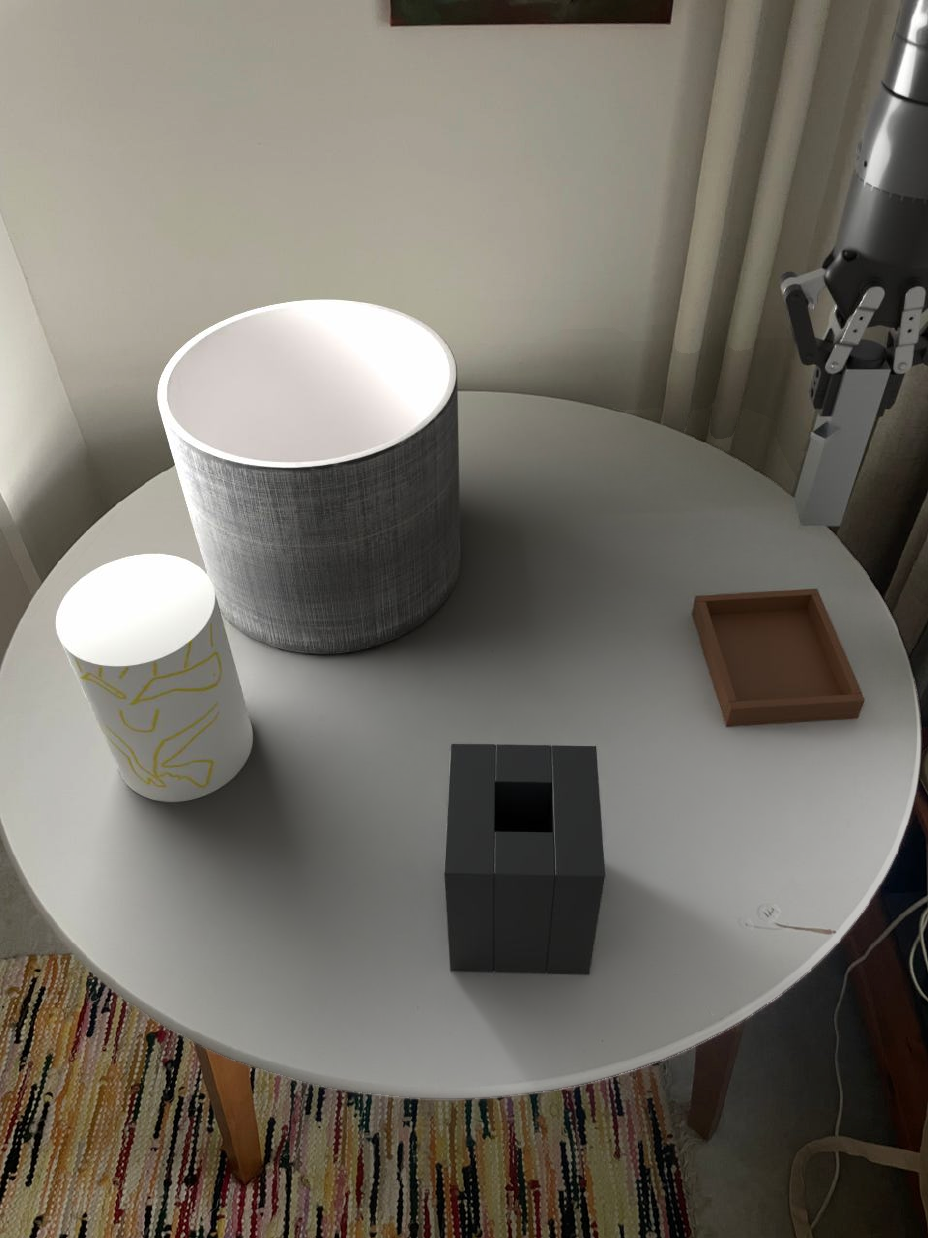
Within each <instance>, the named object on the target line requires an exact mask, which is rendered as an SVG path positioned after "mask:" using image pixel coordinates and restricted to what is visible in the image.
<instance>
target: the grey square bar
mask: <svg viewBox="0 0 928 1238" xmlns="http://www.w3.org/2000/svg"><path fill="white" fill-rule="evenodd" d="M886 356H887V351H886V349H885V346H884V345H882V344H881V343H879V342H878V341H874V340H871V339H865V338H861V340H860V342H859V344H858V345H857V346H854V347H853V348H852V350H851V352H850V355H849V357H848V359H847V361H846V363H845V365H844V367H843V368H842V370H841V371H842V374H843V375H842V379H841V382H840V386H839V389H838V393H837V396H836V399H835V403H834V406H833V410H832V413H831V416H830V417H822V416H819V413H818V412H817V415H816V419H815V422H814V426H813V430H812V431H811V432H810V435H809V438H810V439H809V440H810V441H809V444H808V447H807V451H806V455H805V458H804V463H803V466H802V469H801V473H800V477H799V479H798V484H797V488H796V491H795V494H794V497H793V498H794V499H793V504H794V508H795V511H796V515H797V517H798V521H799V524H800V527H840V526H841V524H842V521H843V517H844V514H845V511H846V509H847V506H848V503H849V500H850V496H851V493H852V490H853V487H854V484H855V481H856V479H857V478H856V477H857V475H858V472H859V468H860V466H861V462H862V459H863V456H864V454H865V450H866V448H867V444H868V441H869V438H870V435H871V433H872V429H873V426H874V422H875V420H876V418H877V417H876V414H877V411H878V408H879V405H880V402H881V399H882V396H883V393H884V389H885V386H886V383H887V380H888V377H889V374H890V371H891V369H890V367H889V364H888V362H887V360H886Z"/></svg>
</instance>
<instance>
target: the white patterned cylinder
mask: <svg viewBox="0 0 928 1238" xmlns="http://www.w3.org/2000/svg"><path fill="white" fill-rule="evenodd" d="M55 630H56V634H57V638H58V639H59V641H60V643H61V647H62V648H63V651H64V653H65V654H66V657H67V659H68V661H69V664H70V666H71V669H72V670H73V672H74V674H75V678H76V679H77V681H78V684H79V686H80V688H81V690H82V692H83V694H84V697H85V699H86V702H87V703H88V706H89V708H90V710H91V713H92V715H93V717H94V719H95V721H96V725H97V726H98V728H99V730H100V733H101V734H102V735H101V736H102V737H103V739H104V741H105V743H106V747H107V748H108V750H109V753H110V755H111V757H112V759H113V762H114V763H115V765H116V768H117V770H118V772H119V774H120V777H121V778H122V780H123V781H124V783H125V784H126V785H127V786H128V788H130V789H131V790H132V791H134V792H135V793H137V794H138V795H140V796H142V797H144V798H146V799H150V800H153V801H156V802H164V803H180V802H187V801H192V800H195V799H199V798H202V797H204V796H207V795H210V794H211V793H214V792H215V791H217V790H219V789H221V788H222V787H224V786H225V785H226V784H228V783H229V782H230V781H231V780H232V779H234V778H235V777H236V776H237V774H239V772H240V771H241V770H242V769H243V767H244V766H245V764H246V762H247V761H248V759H249V756H250V754H251V752H252V749H253V743H254V731H253V725H252V721H251V718H250V715H249V711H248V708H247V703H246V701H245V695H244V692H243V689H242V685H241V682H240V678H239V674H238V671H237V668H236V663H235V660H234V656H233V652H232V649H231V645H230V641H229V638H228V634H227V630H226V627H225V624H224V619H223V616H222V612H221V611H220V608H219V605H218V601H217V597H216V594H215V590H214V586H213V584H212V582H211V580H210V578H209V576H208V575H207V572H206V571H204V569H202V568H201V567H200V566H199V565H197V564H195V563H194V562H192V561H190V560H189V559H186V558H182V557H179V556H177V555H170V554H163V553H143V554H135V555H130V556H125V557H122V558H118V559H116V560H112V561H110V562H108V563H105V564H103V565H101V566H99V567H97V568H95V569H93V570H92V571H90V572H89V573H87V574H86V575H84V576H83V577H82V578H80V579H79V580H78V581H77V582H76V583H74V584H73V586H72V587H71V588H70V589H69V590H68V591H67V592H66V594H65V595H64V597H63V598H62V599H61V602H60V604H59V606H58V608H57V612H56V616H55Z"/></svg>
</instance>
